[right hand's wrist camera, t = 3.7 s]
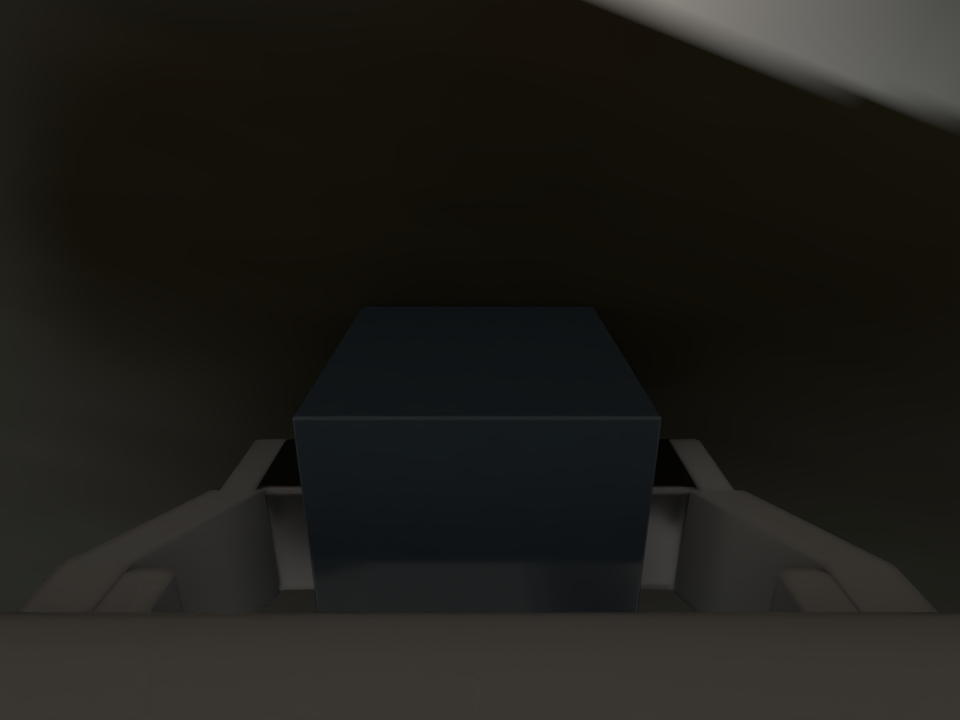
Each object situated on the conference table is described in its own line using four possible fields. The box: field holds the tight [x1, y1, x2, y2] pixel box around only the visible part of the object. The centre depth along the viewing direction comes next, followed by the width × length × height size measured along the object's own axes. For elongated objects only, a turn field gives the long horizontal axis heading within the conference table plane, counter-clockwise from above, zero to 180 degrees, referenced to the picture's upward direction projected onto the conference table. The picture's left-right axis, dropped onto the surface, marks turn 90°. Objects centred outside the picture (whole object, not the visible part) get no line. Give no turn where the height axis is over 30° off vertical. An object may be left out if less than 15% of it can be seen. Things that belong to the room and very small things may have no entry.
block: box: [292, 307, 662, 612], centre depth 10 cm, size 5×4×5 cm
